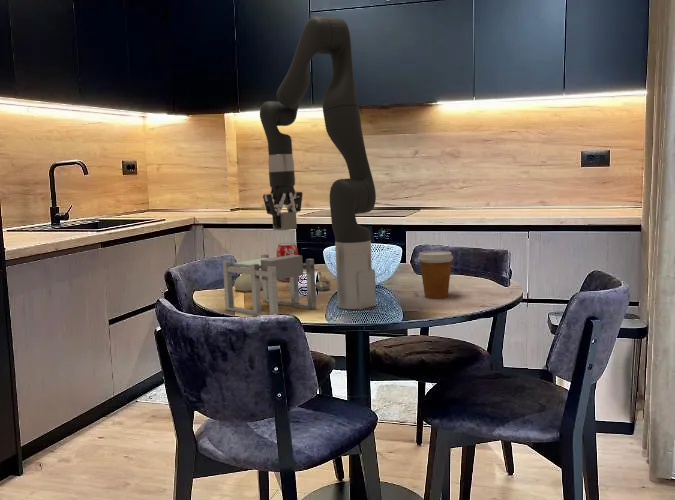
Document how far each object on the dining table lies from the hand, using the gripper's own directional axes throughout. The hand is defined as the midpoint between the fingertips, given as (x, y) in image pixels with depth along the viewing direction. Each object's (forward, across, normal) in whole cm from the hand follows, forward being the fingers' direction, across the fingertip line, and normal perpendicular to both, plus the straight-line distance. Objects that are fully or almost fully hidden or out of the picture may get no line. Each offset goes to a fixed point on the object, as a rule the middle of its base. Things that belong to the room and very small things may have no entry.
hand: (285, 227), depth 202 cm
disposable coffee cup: (+20, +16, -42) cm, 50 cm away
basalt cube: (+1, 0, 0) cm, 1 cm away
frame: (+19, -21, -16) cm, 33 cm away
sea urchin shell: (+19, -6, +12) cm, 23 cm away
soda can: (+19, +12, +14) cm, 26 cm away
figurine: (+19, +6, -8) cm, 22 cm away
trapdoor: (+10, -21, -16) cm, 28 cm away
